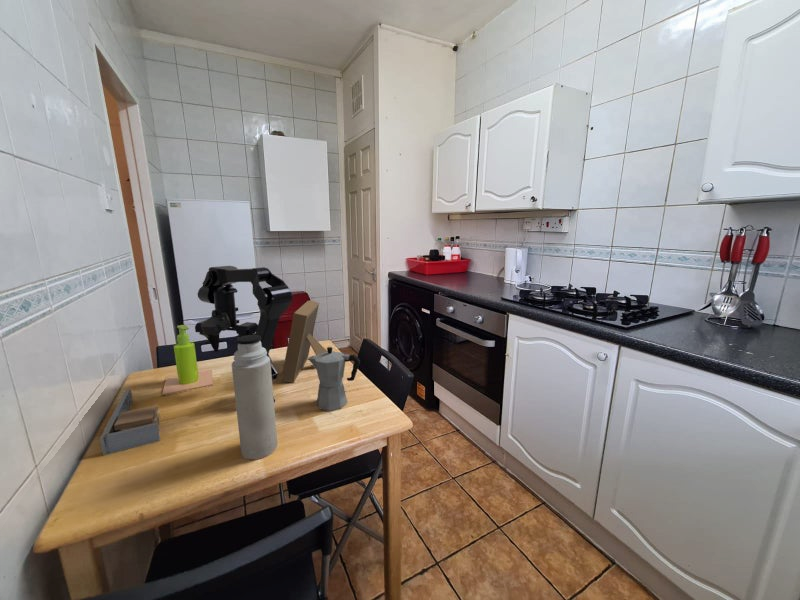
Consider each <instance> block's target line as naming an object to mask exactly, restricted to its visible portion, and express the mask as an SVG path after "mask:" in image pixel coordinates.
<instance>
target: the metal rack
mask: <svg viewBox="0 0 800 600" xmlns="http://www.w3.org/2000/svg"><path fill="white" fill-rule="evenodd" d="M133 403H134V400H133V395H132V389H131V388H126V389H125V390H124V391H123V393H122V395H121V397H120V399H119V400H118V402H117V405H116V406H115V409H114V410H113V413H112V415H111V416H110V418H109V420H108V422H107V424H106V426H105V428H104V429H103V432H102V434H101V436H100V437H99V440H100V446H101V450H102V455H103V456H107V455H112V454H114V453H115V454H116V453H119V452H123V451H126V450H129V449H134V448H138V447H142V446H145V445H149V444H155V443H156V442H160V441H161V435H160V434H161V433H160V428H159V427H160V426H159V427H158V422H157V423H153V424H148V425H144V426H140V427H136V428H131V429H127V430H123V431H119V430H116V431H115V430H114V424H115V423H116V421H117V420H118V418H119V417H120V415H121V414H122V412H126V411H131V407H132V405H133Z"/></svg>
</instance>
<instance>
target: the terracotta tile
mask: <svg viewBox="0 0 800 600" xmlns="http://www.w3.org/2000/svg"><path fill="white" fill-rule="evenodd" d="M198 375H199V380H197V381H196V382H194V383H190V384H179V380H178V375H176V376H175V375H174V376H170V377H166V378H165V382H164V387H163V390H162V394H161V396H162V397H163V395H165V396H168V394H169V395H173V394H172V393H174V394H178V393H177V392H179V393H183V392H182V391H184V392H188V391H187V390H189V391H193V390H192V389H194V390H197V388H199V389H203V388H202V387H204V388H208V387H213V386H212V385H214V384H213V381H214V380H213V370H212V369H208V370H202V371H198ZM207 386H208V387H207Z"/></svg>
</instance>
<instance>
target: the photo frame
mask: <svg viewBox="0 0 800 600" xmlns="http://www.w3.org/2000/svg"><path fill="white" fill-rule="evenodd" d="M319 305H320V302H316V301H313V300H307V301H306V302H305V303H303V304H302V305H301V306H300V307H299V308H298V309H297V310H296V311H295V312H293V317H292V322H291V328H290V332H289V338H288V342H287V347H286V353H285V356H284V357H285V358H284V363H283V369H282V372H281V378H280V381H282V382H286V383H287V382H288V383H292V384H294V383H295V381H296V380H297V378H298V376H299V374H300V373H301V372H302V369H303V368H304V366H305V364H306V363H307V361H309V360H308V358H309V355H310V354H309V353H310V349H312V350H313V352H314V355H319V354H321V353H325V352H328V351H327V348H325V347H324V346H323V345H322V344H321V343H320V342H319V341H318V340H317V339H316V338H315V337H314V336H313V335H314V330H315V325H316V322H317V315H318V311H319Z"/></svg>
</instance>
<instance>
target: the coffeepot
mask: <svg viewBox="0 0 800 600" xmlns="http://www.w3.org/2000/svg"><path fill="white" fill-rule="evenodd" d="M326 350H327V351H328V352H325V353H321V354H319V355H316V354H314V355H312V356H308V360H307V361H310V364H312V365H313V367H314V368H315V369H316V372H317V377H318V380H319V384H318V390H317V399H316V403H317V407H318V409H320V410H322V411H326V412H330V411H331V412H332V411H339V410H340V409H342V408H343V407H345V406H346V405H347V403H348V398H347V394H346V390H345V386H344V382H343V379H344V377H345V366H346V363H347V362H354V363H353V365H352V370H351V373H350V377H347V378H346V380H347V381H348V382H353V381H355V378H356V375H357V372H358V369H359V366H360V363H361V360H360V359H359V357H358V356H356V354H345V353H344V352H340V351H333V347H331V346H327V348H326Z"/></svg>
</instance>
